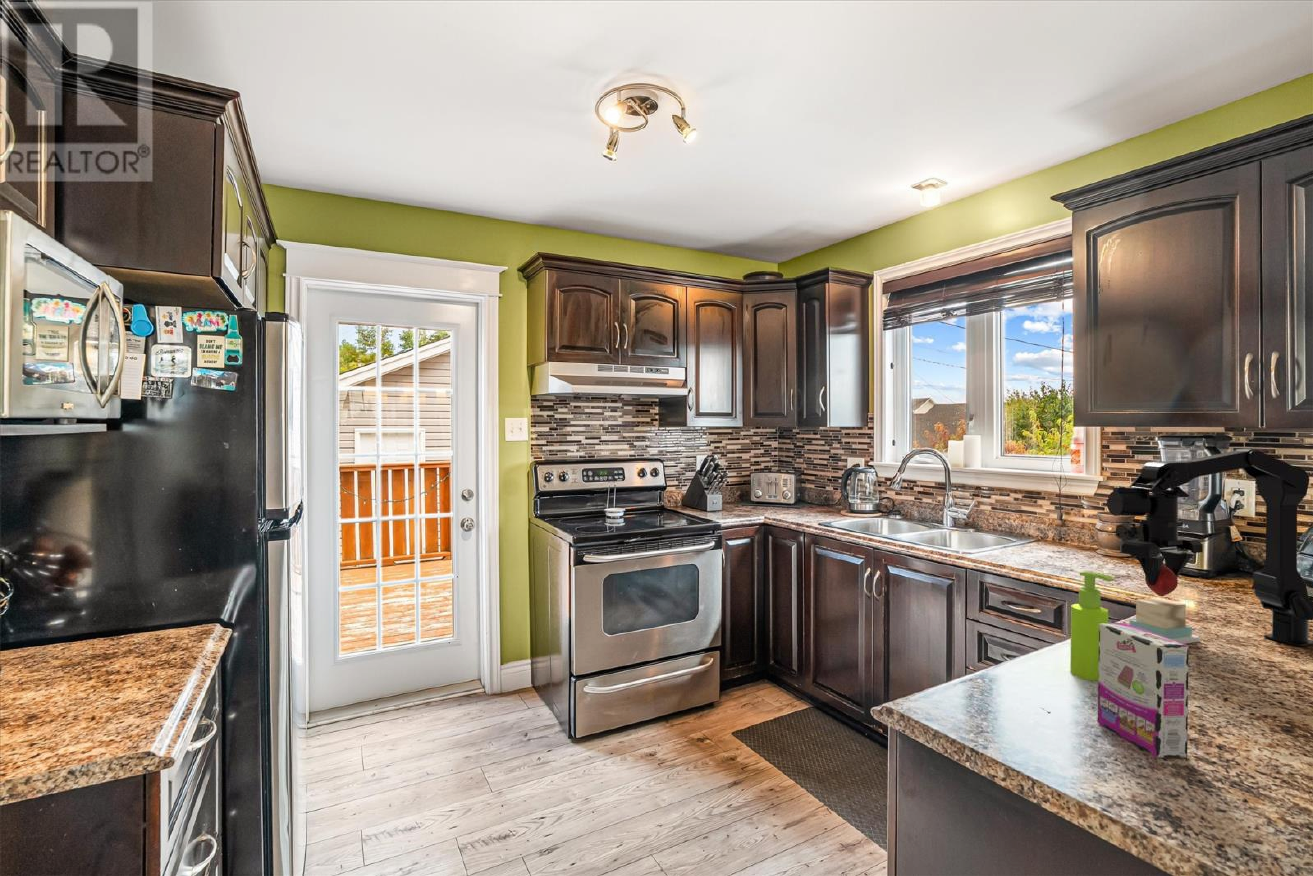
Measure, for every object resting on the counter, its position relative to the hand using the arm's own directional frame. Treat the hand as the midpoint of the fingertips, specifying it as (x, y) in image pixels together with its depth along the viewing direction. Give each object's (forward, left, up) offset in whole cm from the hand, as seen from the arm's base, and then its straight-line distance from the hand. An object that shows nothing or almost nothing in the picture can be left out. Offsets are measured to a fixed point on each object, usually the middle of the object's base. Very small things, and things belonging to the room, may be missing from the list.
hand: (1161, 583), depth 140 cm
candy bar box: (+55, +32, -12) cm, 65 cm away
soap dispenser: (+38, +12, -12) cm, 42 cm away
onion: (0, 0, -3) cm, 3 cm away
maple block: (0, 0, -9) cm, 9 cm away
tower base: (0, 0, -12) cm, 12 cm away
